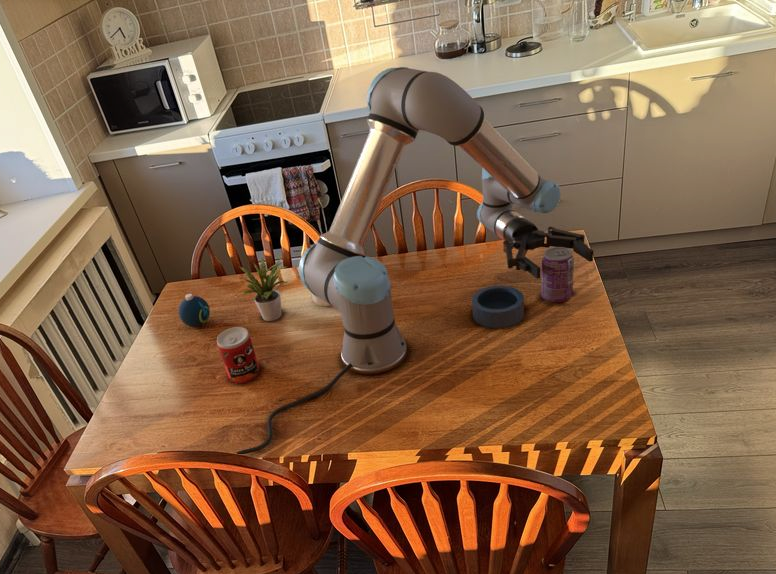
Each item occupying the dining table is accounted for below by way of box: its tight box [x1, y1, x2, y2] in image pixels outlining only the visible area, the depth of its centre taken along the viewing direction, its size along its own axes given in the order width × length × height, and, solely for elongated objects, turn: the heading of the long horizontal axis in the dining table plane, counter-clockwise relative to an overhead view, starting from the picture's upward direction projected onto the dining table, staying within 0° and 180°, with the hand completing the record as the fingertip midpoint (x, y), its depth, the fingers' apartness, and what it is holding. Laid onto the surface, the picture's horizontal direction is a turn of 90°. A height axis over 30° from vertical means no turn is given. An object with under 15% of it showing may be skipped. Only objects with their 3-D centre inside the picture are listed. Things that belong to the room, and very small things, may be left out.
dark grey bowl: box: [471, 284, 525, 329], centre depth 154 cm, size 12×12×4 cm
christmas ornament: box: [178, 293, 211, 328], centre depth 175 cm, size 8×8×10 cm
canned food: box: [216, 326, 260, 384], centre depth 152 cm, size 8×8×11 cm
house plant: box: [239, 257, 289, 322], centre depth 169 cm, size 14×14×16 cm
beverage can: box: [540, 246, 575, 303], centre depth 153 cm, size 7×7×12 cm
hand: (565, 264), depth 148 cm, fingers open, 13 cm apart
